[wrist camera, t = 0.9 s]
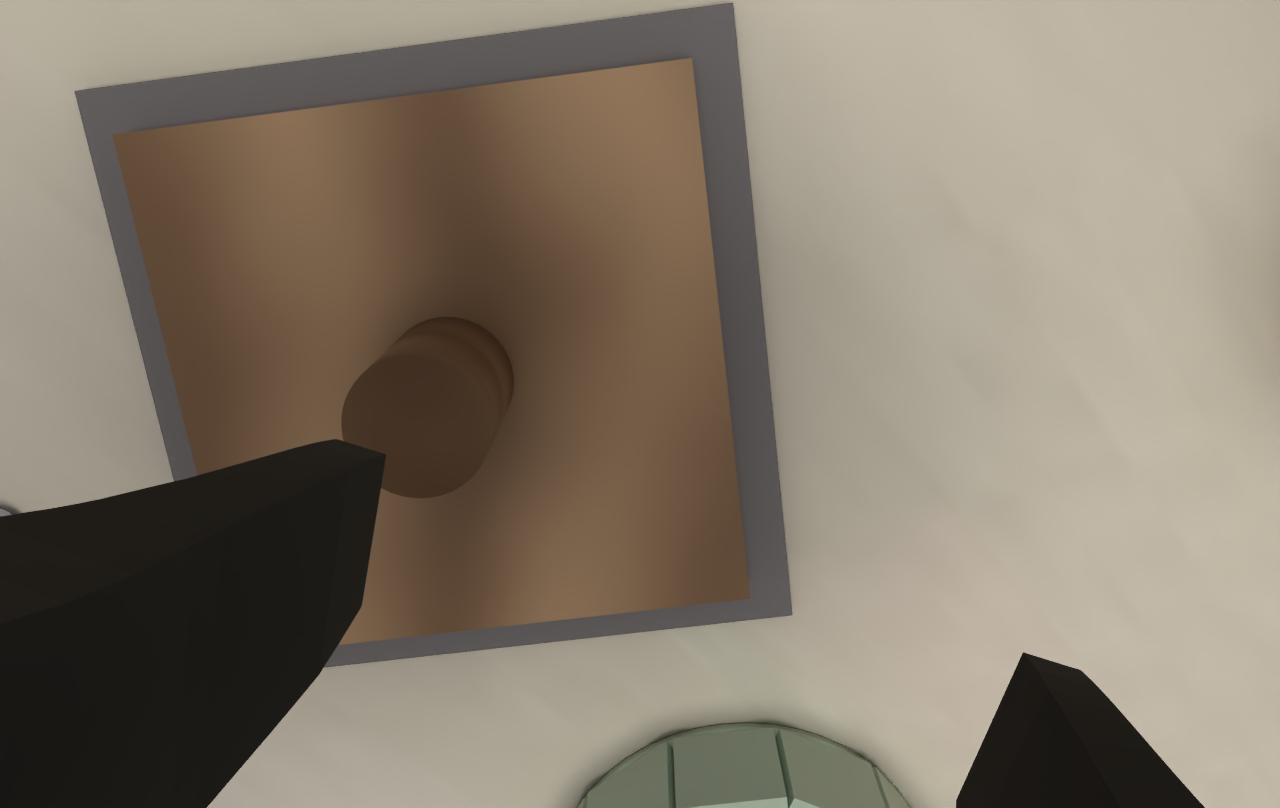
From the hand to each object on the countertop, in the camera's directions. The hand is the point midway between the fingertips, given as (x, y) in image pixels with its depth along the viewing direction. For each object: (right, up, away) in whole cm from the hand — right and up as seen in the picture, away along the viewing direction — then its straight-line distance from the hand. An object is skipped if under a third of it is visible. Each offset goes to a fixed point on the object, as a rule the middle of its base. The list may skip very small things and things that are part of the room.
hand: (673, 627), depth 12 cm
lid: (-5, +3, +13) cm, 14 cm away
